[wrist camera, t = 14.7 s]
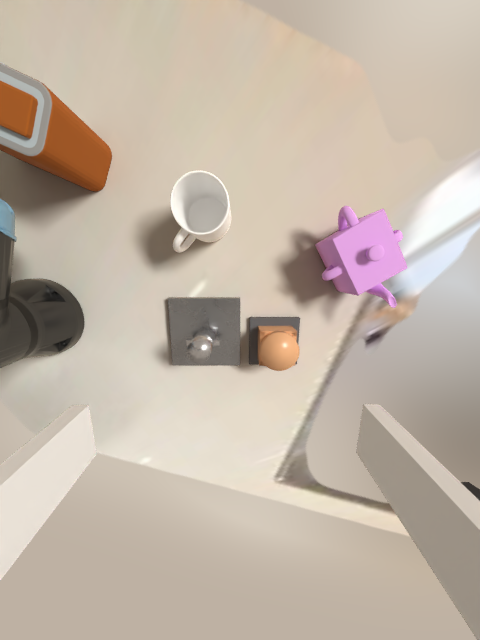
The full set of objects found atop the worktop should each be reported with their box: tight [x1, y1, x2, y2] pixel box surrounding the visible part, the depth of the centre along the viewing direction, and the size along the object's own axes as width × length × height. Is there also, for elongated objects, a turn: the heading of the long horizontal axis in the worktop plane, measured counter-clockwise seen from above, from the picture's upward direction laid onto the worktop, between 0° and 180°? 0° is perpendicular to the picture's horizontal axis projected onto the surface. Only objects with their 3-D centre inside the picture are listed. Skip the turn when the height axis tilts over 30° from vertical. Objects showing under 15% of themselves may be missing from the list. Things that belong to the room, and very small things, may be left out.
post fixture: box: [168, 297, 240, 365], centre depth 41 cm, size 14×14×9 cm
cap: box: [258, 326, 299, 371], centre depth 42 cm, size 7×7×6 cm
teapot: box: [315, 206, 407, 308], centre depth 38 cm, size 18×14×10 cm
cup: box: [170, 170, 231, 252], centre depth 36 cm, size 8×12×10 cm
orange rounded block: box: [0, 62, 112, 191], centre depth 32 cm, size 15×8×14 cm, turn 67°
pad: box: [249, 317, 300, 364], centre depth 46 cm, size 10×10×1 cm
